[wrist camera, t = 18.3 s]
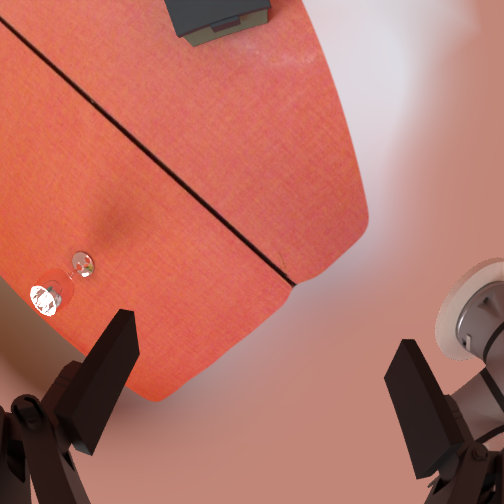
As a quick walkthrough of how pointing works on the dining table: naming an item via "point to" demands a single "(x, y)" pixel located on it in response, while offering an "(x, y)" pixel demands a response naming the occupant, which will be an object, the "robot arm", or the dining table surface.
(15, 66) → the dining table surface
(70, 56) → the dining table surface
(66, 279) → the wineglass
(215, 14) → the box
